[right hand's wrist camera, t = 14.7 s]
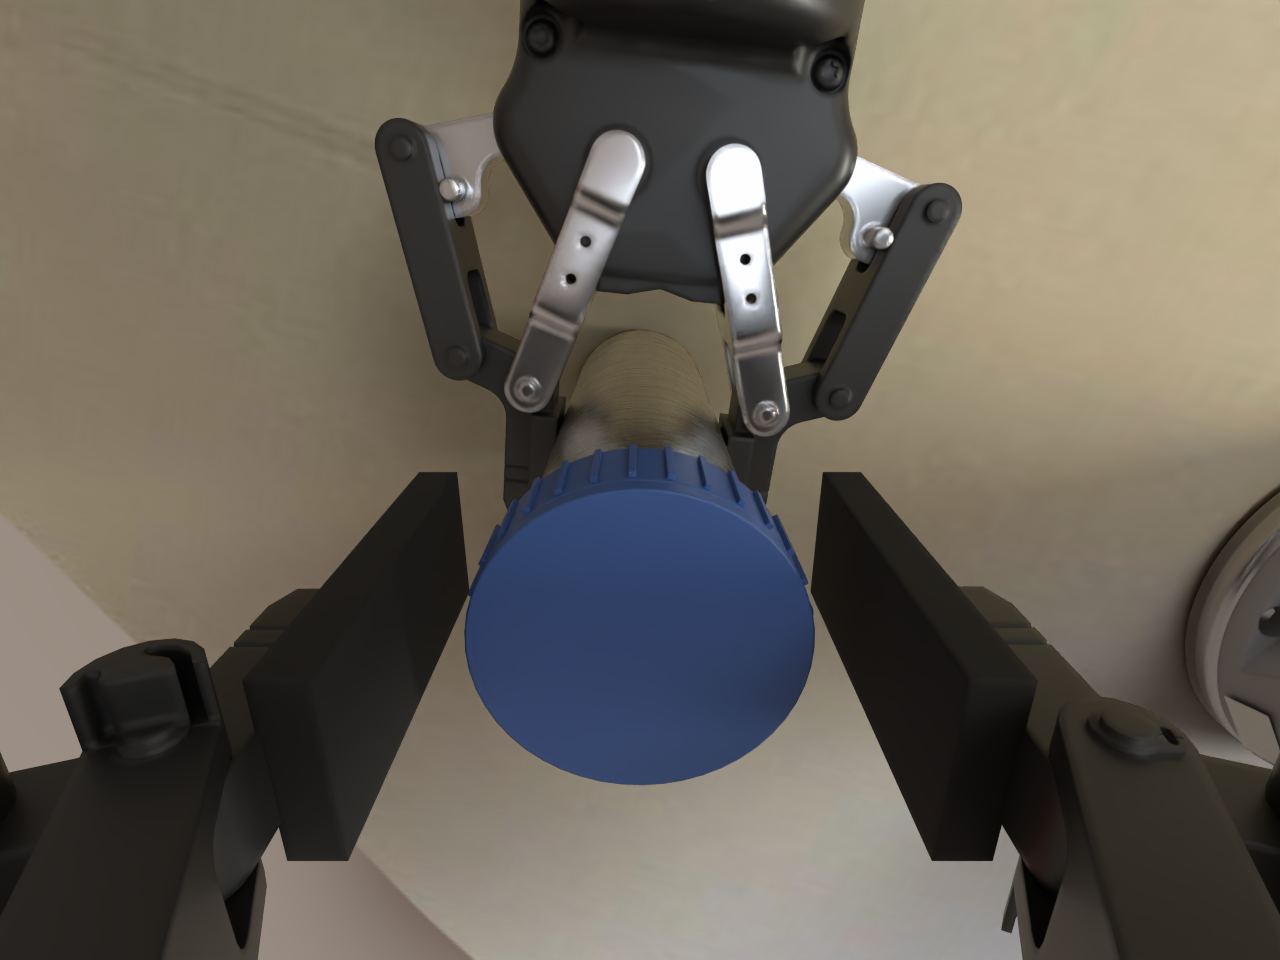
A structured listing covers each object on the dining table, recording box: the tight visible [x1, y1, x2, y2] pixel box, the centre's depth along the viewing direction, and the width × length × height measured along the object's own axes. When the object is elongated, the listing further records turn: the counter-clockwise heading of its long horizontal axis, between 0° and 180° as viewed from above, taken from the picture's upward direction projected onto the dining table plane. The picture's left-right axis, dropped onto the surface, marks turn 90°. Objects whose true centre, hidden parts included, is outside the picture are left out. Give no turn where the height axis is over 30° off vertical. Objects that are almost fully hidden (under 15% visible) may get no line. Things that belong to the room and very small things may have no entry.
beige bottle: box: [541, 330, 738, 480], centre depth 18 cm, size 4×4×15 cm
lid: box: [464, 444, 815, 785], centre depth 11 cm, size 5×5×2 cm
